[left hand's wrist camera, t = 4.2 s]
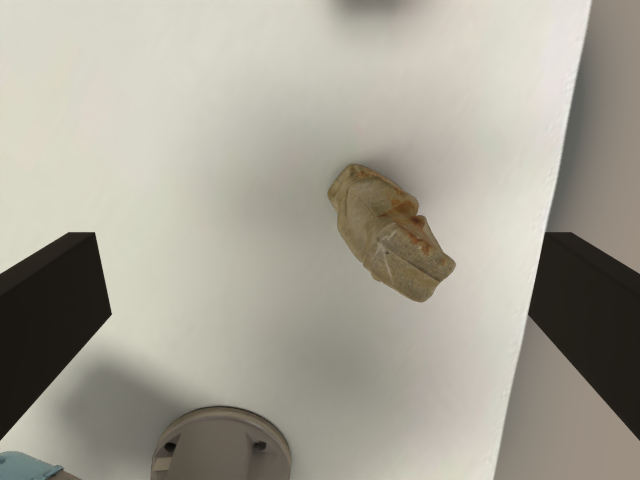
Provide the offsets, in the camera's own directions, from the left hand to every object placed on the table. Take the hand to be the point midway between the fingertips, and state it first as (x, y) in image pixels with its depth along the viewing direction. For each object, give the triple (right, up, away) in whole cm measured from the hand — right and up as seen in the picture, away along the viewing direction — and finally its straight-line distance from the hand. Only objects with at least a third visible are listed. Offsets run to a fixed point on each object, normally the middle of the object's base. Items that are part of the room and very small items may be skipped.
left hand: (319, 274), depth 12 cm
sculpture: (+4, +5, +25) cm, 26 cm away
